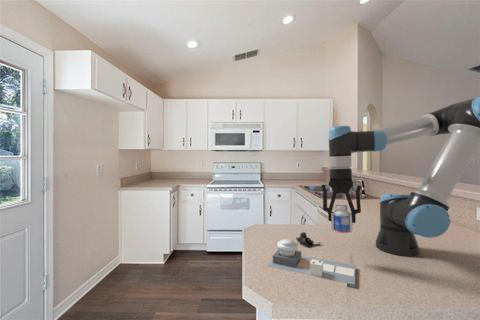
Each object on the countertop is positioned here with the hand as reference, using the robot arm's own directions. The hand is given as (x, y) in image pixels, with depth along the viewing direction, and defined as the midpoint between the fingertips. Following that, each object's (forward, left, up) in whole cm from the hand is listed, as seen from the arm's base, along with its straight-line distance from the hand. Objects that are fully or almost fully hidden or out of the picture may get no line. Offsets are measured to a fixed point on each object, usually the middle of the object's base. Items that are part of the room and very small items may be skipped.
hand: (342, 230), depth 87 cm
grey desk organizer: (+9, +12, -11) cm, 18 cm away
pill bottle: (0, 0, -1) cm, 1 cm away
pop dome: (+18, +11, -9) cm, 22 cm away
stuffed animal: (+16, -9, -12) cm, 22 cm away
